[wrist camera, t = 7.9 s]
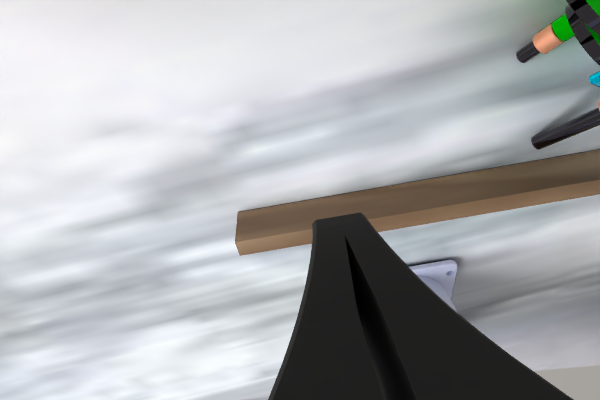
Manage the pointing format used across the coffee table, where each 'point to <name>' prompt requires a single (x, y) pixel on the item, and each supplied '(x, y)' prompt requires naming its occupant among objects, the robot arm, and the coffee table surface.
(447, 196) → the channel box
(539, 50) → the stick construction toy
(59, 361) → the coffee table surface
